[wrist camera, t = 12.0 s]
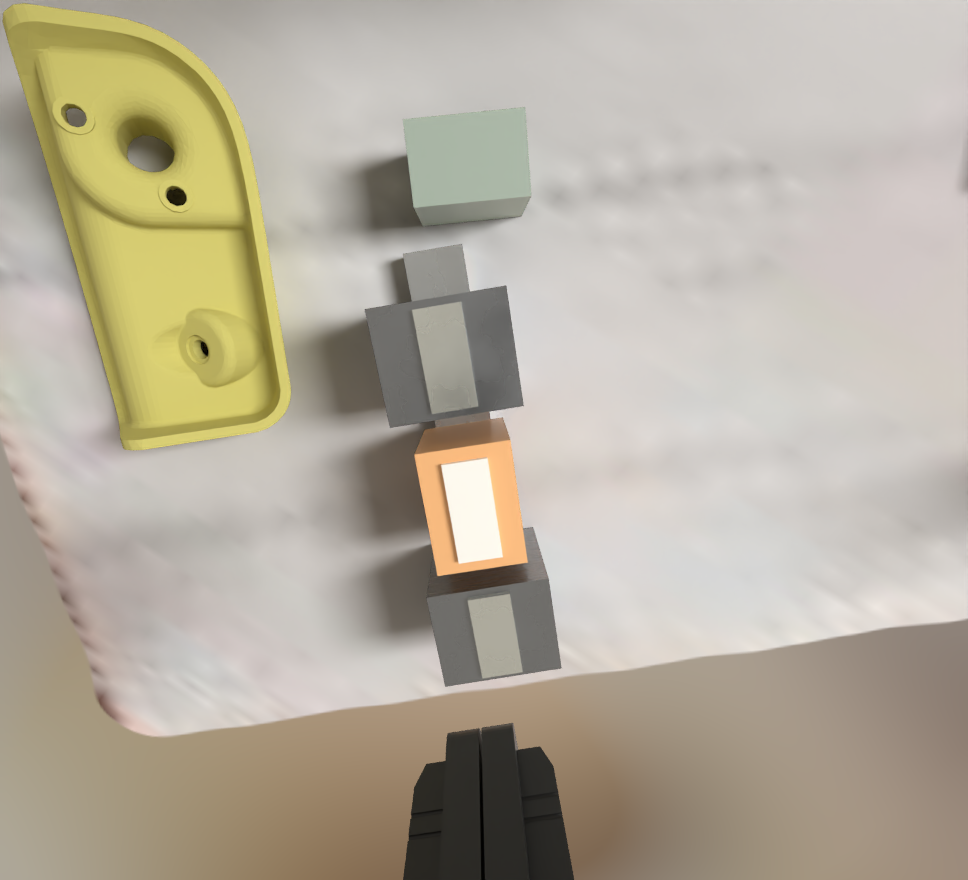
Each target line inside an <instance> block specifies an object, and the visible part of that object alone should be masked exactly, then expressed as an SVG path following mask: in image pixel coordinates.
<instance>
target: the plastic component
mask: <svg viewBox="0 0 968 880" xmlns="http://www.w3.org/2000/svg"><path fill="white" fill-rule="evenodd" d="M3 25H4V29H5V32H6V36H7V39H8V43H9V46H10V49H11V52H12V56H13V59H14V62H15V65H16V68H17V71H18V74H19V77H20V81H21V84H22V87H23V90H24V93H25V96H26V100H27V103H28V106H29V109H30V112H31V116H32V119H33V122H34V125H35V129H36V132H37V135H38V138H39V142H40V145H41V148H42V152H43V155H44V158H45V161H46V165H47V168H48V171H49V175H50V178H51V181H52V185H53V188H54V191H55V195H56V198H57V202H58V205H59V208H60V212H61V215H62V219H63V222H64V226H65V229H66V232H67V236H68V239H69V243H70V246H71V250H72V253H73V257H74V260H75V264H76V267H77V271H78V274H79V278H80V281H81V285H82V289H83V292H84V296H85V299H86V303H87V306H88V310H89V314H90V317H91V321H92V324H93V328H94V331H95V335H96V339H97V342H98V346H99V349H100V353H101V356H102V360H103V363H104V367H105V371H106V374H107V378H108V381H109V385H110V388H111V392H112V396H113V400H114V403H115V407H116V411H117V416H118V420H119V428H120V439H121V442H122V446H123V448H124V449H125V450H145V449H151V448H158V447H164V446H171V445H177V444H183V443H190V442H196V441H203V440H209V439H216V438H222V437H228V436H235V435H241V434H248V433H254V432H259V431H261V430H264V429H267V428H269V427H270V426H272V425H273V424H275V423H276V422H277V421H278V420H279V419H280V418H281V417H282V416H283V415H284V413H285V411H286V410H287V408H288V405H289V402H290V397H291V387H290V380H289V374H288V368H287V362H286V356H285V350H284V344H283V337H282V331H281V325H280V319H279V313H278V307H277V301H276V294H275V288H274V282H273V276H272V270H271V264H270V258H269V252H268V245H267V239H266V233H265V227H264V221H263V215H262V209H261V202H260V197H259V191H258V186H257V181H256V175H255V170H254V165H253V161H252V156H251V152H250V148H249V144H248V141H247V137H246V134H245V131H244V128H243V124H242V122H241V120H240V117H239V115H238V112H237V110H236V108H235V106H234V104H233V102H232V100H231V98H230V97H229V95H228V93H227V91H226V90H225V88H224V87H223V85H222V84H221V82H220V81H219V80H218V78H217V77H216V76H215V75H214V74H213V72H212V71H211V70H210V69H209V68H208V67H207V66H206V65H205V64H204V63H203V62H202V61H201V60H200V59H199V58H198V57H197V56H196V55H195V54H193V53H192V52H191V51H190V50H189V49H187V48H186V47H184V46H183V45H182V44H180V43H179V42H178V41H176V40H174V39H173V38H171V37H169V36H168V35H166V34H164V33H162V32H160V31H158V30H156V29H153V28H151V27H149V26H147V25H144V24H141V23H137V22H134V21H131V20H127V19H123V18H119V17H114V16H108V15H101V14H95V13H88V12H81V11H73V10H66V9H59V8H52V7H46V6H39V5H32V4H26V3H22V4H15V5H12V6H11V7H9V8H8V9H7V10H5V11H4V12H3ZM69 108H77V109H79V110H81V111H83V112H84V113H85V114H86V118H87V121H86V123H85V125H84V126H81V127H74V126H71V125H69V123H68V119H67V115H66V111H67V110H68V109H69ZM142 135H145V136H154V137H156V138H158V139H160V140H163V141H165V142H166V143H167V144H168V145H169V146H170V147H171V148H172V149H173V151H174V153H175V155H174V159H173V162H172V163H171V165H170V166H169V167H168V168H167V169H165V170H163V171H160V172H147V171H144V170H141V169H139V168H137V167H135V166H134V165H132V164H131V163H130V162H129V160H128V158H127V151H128V146H129V145H130V143H131V142H132V140H133V139H134V138H137V137H140V136H142ZM170 189H171V190H176V189H180V190H182V191H183V192H185V194H186V196H187V201H186V202H185V204H184V205H181V206H175V205H173V204H171V203H170V202H169V201H168V200H167V198H166V196H167V192H168V191H169V190H170ZM202 341H203V342H204V343H205V344H206V345H207V347H208V356H206V355H204V354H203V352H202V350H201V342H202Z"/></svg>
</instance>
